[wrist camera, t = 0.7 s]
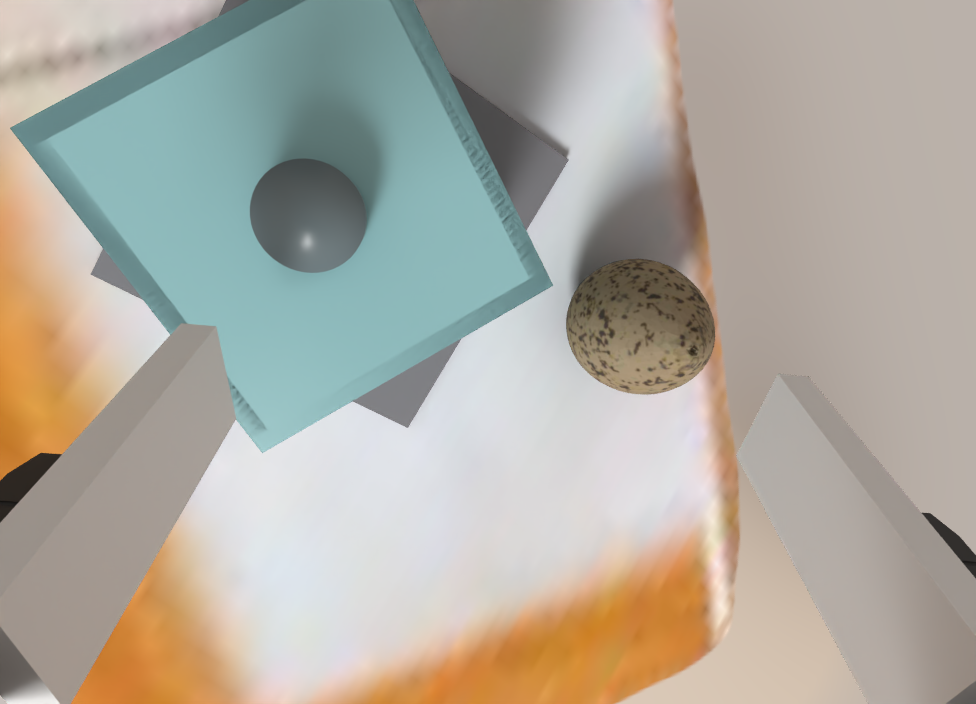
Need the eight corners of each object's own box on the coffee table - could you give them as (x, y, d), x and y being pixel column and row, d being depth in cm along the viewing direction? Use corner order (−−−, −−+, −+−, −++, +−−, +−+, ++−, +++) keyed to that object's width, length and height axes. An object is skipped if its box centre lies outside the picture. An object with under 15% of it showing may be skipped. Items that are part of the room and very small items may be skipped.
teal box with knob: (183, 166, 26) (-33, 118, 12) (379, 59, 27) (379, -100, 13) (310, 352, 30) (251, 474, 16) (481, 254, 30) (568, 291, 16)
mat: (261, -60, 25) (258, -66, 24) (565, 160, 30) (568, 159, 30) (95, 273, 27) (90, 274, 27) (407, 424, 32) (407, 427, 32)
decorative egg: (650, 241, 32) (762, 254, 23) (661, 352, 35) (768, 405, 25) (538, 267, 32) (607, 291, 22) (557, 378, 34) (627, 445, 24)
